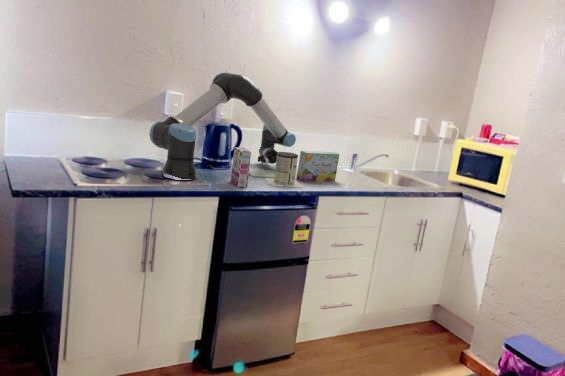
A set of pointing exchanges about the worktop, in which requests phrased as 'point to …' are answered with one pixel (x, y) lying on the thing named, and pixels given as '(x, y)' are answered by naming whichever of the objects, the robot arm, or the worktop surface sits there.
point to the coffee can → (285, 168)
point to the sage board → (262, 173)
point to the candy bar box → (240, 167)
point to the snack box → (317, 166)
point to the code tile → (271, 181)
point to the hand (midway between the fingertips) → (280, 163)
